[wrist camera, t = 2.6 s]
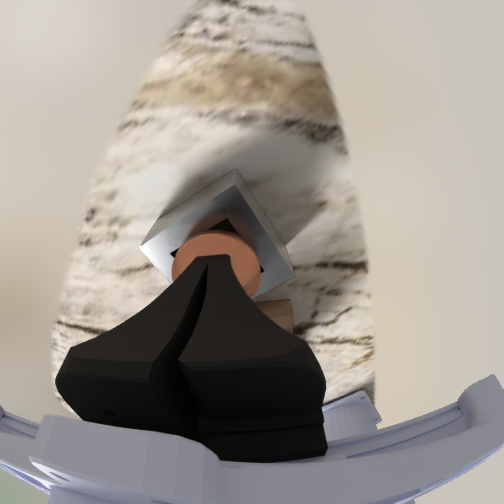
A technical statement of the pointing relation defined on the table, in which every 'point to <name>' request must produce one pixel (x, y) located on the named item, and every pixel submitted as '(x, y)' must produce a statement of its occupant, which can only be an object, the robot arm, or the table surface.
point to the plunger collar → (211, 213)
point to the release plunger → (222, 242)
